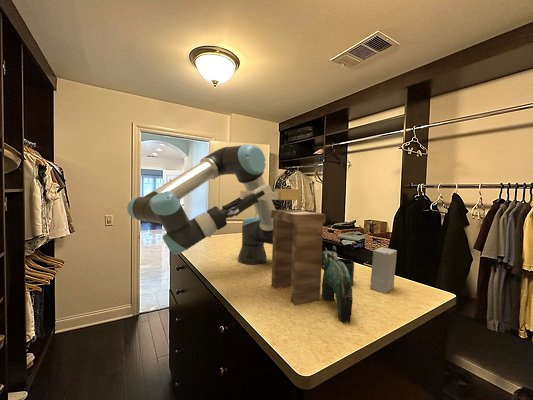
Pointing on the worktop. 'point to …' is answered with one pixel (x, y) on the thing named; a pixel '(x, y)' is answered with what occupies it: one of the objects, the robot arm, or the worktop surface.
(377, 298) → the worktop surface
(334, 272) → the dark green curved figure
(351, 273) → the mug
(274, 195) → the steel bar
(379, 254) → the skincare box
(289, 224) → the walnut shelf
